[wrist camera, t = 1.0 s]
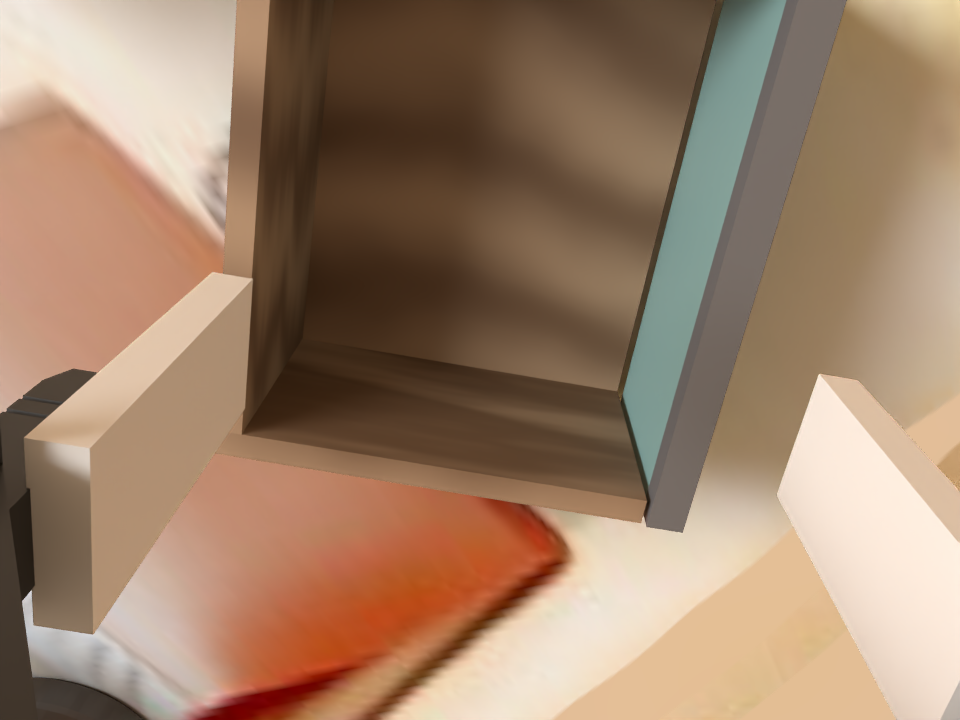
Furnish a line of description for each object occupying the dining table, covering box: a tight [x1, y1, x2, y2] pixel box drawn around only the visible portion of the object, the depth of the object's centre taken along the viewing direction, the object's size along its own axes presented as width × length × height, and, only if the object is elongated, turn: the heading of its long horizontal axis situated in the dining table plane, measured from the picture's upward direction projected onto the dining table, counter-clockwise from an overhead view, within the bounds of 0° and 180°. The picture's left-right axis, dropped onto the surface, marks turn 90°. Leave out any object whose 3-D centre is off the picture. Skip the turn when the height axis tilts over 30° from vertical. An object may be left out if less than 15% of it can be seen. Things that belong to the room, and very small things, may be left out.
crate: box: [215, 0, 716, 523], centre depth 33 cm, size 21×16×11 cm
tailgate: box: [621, 0, 847, 533], centre depth 33 cm, size 21×1×10 cm, turn 171°
